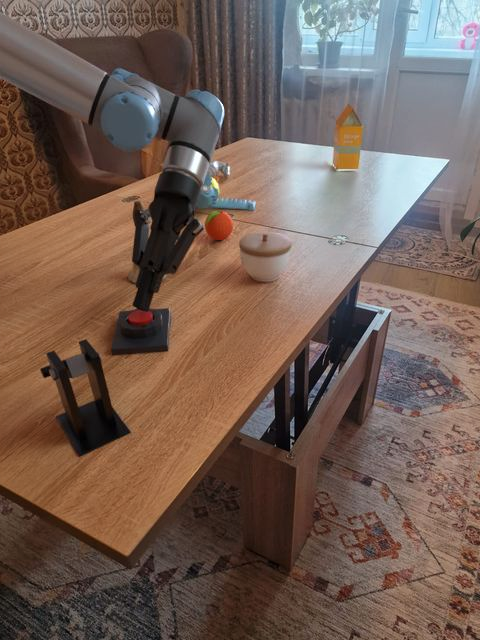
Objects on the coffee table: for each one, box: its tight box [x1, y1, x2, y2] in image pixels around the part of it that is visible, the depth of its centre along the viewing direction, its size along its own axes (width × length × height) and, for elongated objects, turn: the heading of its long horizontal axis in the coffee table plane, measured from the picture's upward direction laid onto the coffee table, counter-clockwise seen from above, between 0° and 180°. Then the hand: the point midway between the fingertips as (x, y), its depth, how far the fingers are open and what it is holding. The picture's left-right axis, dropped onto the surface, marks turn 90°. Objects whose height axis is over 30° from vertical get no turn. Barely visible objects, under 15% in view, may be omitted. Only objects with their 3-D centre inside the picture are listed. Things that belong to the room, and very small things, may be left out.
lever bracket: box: [45, 339, 132, 458], centre depth 62 cm, size 9×7×13 cm
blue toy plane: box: [196, 174, 256, 212], centre depth 136 cm, size 28×9×15 cm
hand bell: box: [127, 200, 168, 285], centre depth 98 cm, size 8×8×16 cm
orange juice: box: [332, 104, 364, 170], centre depth 166 cm, size 8×9×20 cm
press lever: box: [39, 353, 90, 379], centre depth 63 cm, size 11×6×2 cm
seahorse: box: [207, 160, 231, 180], centre depth 158 cm, size 5×12×20 cm
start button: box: [128, 310, 153, 326], centre depth 82 cm, size 4×4×2 cm
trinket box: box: [238, 231, 292, 283], centre depth 100 cm, size 11×11×9 cm
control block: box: [110, 307, 172, 356], centre depth 82 cm, size 9×12×4 cm
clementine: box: [204, 210, 234, 241], centre depth 117 cm, size 8×7×7 cm
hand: (140, 308), depth 81 cm, fingers closed
